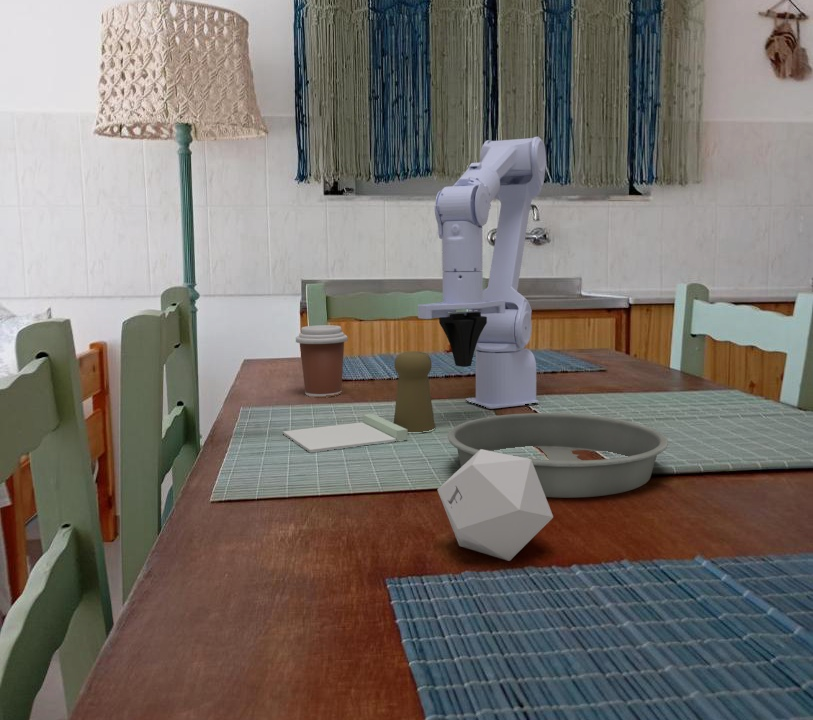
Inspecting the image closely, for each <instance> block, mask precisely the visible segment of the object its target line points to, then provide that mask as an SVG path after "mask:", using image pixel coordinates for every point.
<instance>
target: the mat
mask: <svg viewBox="0 0 813 720" xmlns="http://www.w3.org/2000/svg"><path fill="white" fill-rule="evenodd" d="M283 434H284V435H283ZM282 435H283V436H285V437H286V436H287V437H286V438H288V439H289V438H290V439H291V440H290V439H289V440H290V441H292V440H293V441H294V442H293V441H292V442H293V443H295V444H296V443H297V444H296V445H298V446H299V445H300V446H299V447H301V448H302V447H303V448H302V449H303V450H305V451H306V450H307V452H308V453H310V454H313V453H320V451H321V452H327V450H329V451H335V450H334V449H337V450H341V449H340V448H345V449H348V448H347V447H353V448H355V447H354V446H360V445H368V444H376V443H381V442H390V441H396V439H395V438H393V437H391V436H389V435H387V434H385V433H383V432H381V431H379V430H377V429H375V428H373V427H371V426H369V425H367V424H365V423H363V421H361V422H354V423H343V424H336V425H335V424H334V425H327V426H317V427H309V428H302V429H301V428H299V429H292V430H283V431H282ZM396 442H397V441H396Z"/></svg>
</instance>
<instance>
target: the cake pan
mask: <svg viewBox="0 0 813 720" xmlns="http://www.w3.org/2000/svg"><path fill="white" fill-rule="evenodd" d="M447 440H448V442H449V443H450V444H451V445H452V447H454V448H456V449H457V454H458V459H459V463H460V468H461V467H462V466H463V465H464V464H465V463H466V462H467V461H468V460H470V459H471V458H472V457H473V456H474V455H475V454H476V453H477V452H478V451H479V450H480V449H482V450H488V451H494V450H500V449H506V448H515V447H525V446H533V447H538V448H540V449H541V450H542V451H543V452H544V453H545V454H546V455H547V457H548V458H549V459H550V460H541V459H531V460H532V463H533V465H534V468H535V471H536V473H537V476H538V478H539V481H540V484H541V486H542V489H543V491H544V494H545V497H546V498H560V499H561V498H591V497H601V496H610V495H617V494H621V493H625V492H629V491H632V490H635V489H638V488H640V487H642V486H643V485H645V484H647V483H648V482H649V481H650V479H651V477H652V473H653V469H654V467H655V462H656V459H657V457H658V455H660V454H662V453H663V452H664V451H665V450H666V449H667V448H668V446H669V439H668V438H667V437H666V436H665V435H664V434H663V433H662V432H660V431H658V430H656V429H654V428H651V427H649V426H646V425H643V424H640V423H636V422H634V421H628V420H623V419H618V418H612V417H605V416H598V415H590V414H580V413H579V414H577V413H559V412H556V413H555V412H535V413H534V412H533V413H532V412H531V413H530V412H529V413H511V414H503V415H502V414H500V415H493V416H492V415H491V416H487V417H481V418H477V419H471V420H468V421H465V422H462V423H460V424H458V425H456V426H454V427H453V428H451V429H450V430H449V432H448V433H447ZM578 450H580V451H590V452H597V451H608V452H613V453H617V454H621V455H625V456H628V457H614V458H607V459H606V458H605V459H590V460H588V459H587V460H582V459H580V458H578V456H579V454H575V453H573V451H575V452H576V451H578Z"/></svg>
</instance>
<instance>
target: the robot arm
mask: <svg viewBox="0 0 813 720" xmlns="http://www.w3.org/2000/svg"><path fill="white" fill-rule="evenodd" d="M479 153H480V154H479V155H480V156H479V162H471V163H470V164H469V165H468V168H467V169H466V170H465V172H464V173H463V174H462V175H461V176H460V177H459V178H458V179H457V181H456V182H455V183H454V184H453V185H452V186H451V185H450V186H444V187H443V188H442V189H441V190H439V191H438V192H437V194H436V198H435V201H434V202H435V203H434V204H435V205H434V214H435V215H434V216H435V220H436V223H437V227H438V229H437V230H438V231H437V233H438V238H439V239H441V247H442V248H441V251H442V253H441V255H442V257H441V259H442V260H441V261H442V263H441V264H442V265H441V267H442V270H441V271H442V301H441V302H433V303H424V304H417V319H422V320H432V319H435V318H436V319H437V318H438V322H439V325H440V327H441V328H442V330H443V332H444V334H445V336H446V338H447V340H448V343H449V345H450V349H451V352H452V357H453V360H454V365H455V366H457V367H461V368H465V367H466V368H467V367H471V366H472V363H473V359H474V356H475V397H468V398H467V397H466V398H465V401H466V400H467V401H471V402H474V403H476V404H479V405H481V406H480V407H482V406H484V407H483V408H485V407H486V409H491V410H493V409H501V408H502V409H504V408H509V407H519V406H526V405H525V404H527V403H532V402H539V403H540V401H539V400H538V399H537V361H536V357H535V355H534V353H533V352H532V351H531V350H530V349H529V348H526V347H527V345H528V344H529V343H530V340H531V335H532V312H533V311H532V307H531V305H530V302H529V300H528V299H527V298H526V297H525V296H524V295H522V294H521V293H520V292H518V290H519V289H518V288H519V281H520V277H521V269H522V262H523V255H524V248H525V244H526V243H525V241H526V235H527V228H528V222H529V215H530V211H531V206H532V202H533V199H534V198H536V197H537V196H539V195H540V194H542V189H543V186H544V181H545V173H546V167H547V153H546V146H545V143H544V141H543V139H541V138H540V136H534V137H529V138H516V139H503V140H490V139H488V140H487V139H486V141H484V143H483V144H482V146H481V148H480V152H479ZM494 199H496V200H497V201H499V202H500V208H499V209H500V210H499V217H498V220H497V221H498V222H497V228H496V234H495V239H494V240H495V241H494V247H493V252H492V259H491V264H490V271H489V276H488V277H489V278H488V284H487V287H486V288H485V289H483V288H484V287H483V283H484V282H483V275H484V274H483V273H484V272H483V226H485V225H487V222H488V220H489V214H490V213H489V212H490V209H491V207H492V206H491V203H492V201H493V200H494ZM457 310H458V311H459V310H461V311H459V312H457ZM462 310H468V311H462ZM467 401H466V402H467ZM476 404H475V405H476ZM479 405H478V406H479Z"/></svg>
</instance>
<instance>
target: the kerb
mask: <svg viewBox="0 0 813 720" xmlns="http://www.w3.org/2000/svg"><path fill="white" fill-rule="evenodd" d="M362 419H363V420H362V422H363V423H365V424H367V425H369V426H371V427H373V428H375V429H377V430H379V431H381V432H383V433H385V434H387V435H389V436H391V437H393V438H395V439H396V440H397V441H399V440H407V439H408V438H409V437H408V433H407V429H405V428H403V427H401V426H398V425H396V424H394V422H392V421H390V420H387V419H385V418H383V417H381V416H378V415H376V414H374V413H368V414H367V413H366V414H363V415H362ZM408 440H409V439H408ZM397 441H396V442H397Z"/></svg>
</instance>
